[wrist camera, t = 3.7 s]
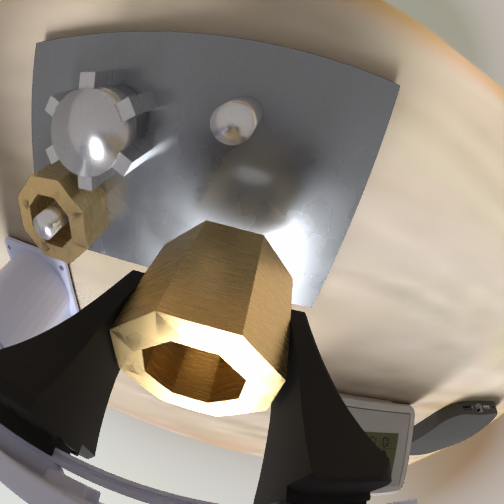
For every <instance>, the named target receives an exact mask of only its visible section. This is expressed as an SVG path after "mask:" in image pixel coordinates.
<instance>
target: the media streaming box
mask: <svg viewBox="0 0 504 504" xmlns="http://www.w3.org/2000/svg"><path fill="white" fill-rule="evenodd" d="M496 415H497V410H496V406H495V403H494V402H460V403H456V404H453V405H450V406H448V407H446V408H443V409H441V410H439V411H437V412H436V413H434V414H433V415H431V416H430V417H428V418H426V419H425V420H423V421H422V422H420V423H418V424H417V425H415V426H414V427H413V435H412V442H411V448H410V455H421V454H427V453H431V452H434V451H437V450H440V449H443V448H446V447H449V446H451V445H454V444H457V443H459V442H461V441H464V440H466V439H468V438H469V437H471V436H473V435H474V434H476V433H477V432H479V431H480V430H482V429H483V428H484V427H485V426H487V425H488V424H489V423H490V422H491V421H492V420H493V419H494V418H495V417H496Z"/></svg>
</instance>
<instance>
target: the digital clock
mask: <svg viewBox="0 0 504 504" xmlns="http://www.w3.org/2000/svg"><path fill="white" fill-rule="evenodd" d="M338 393H339V392H338ZM339 394H340V396H341V398H342V400H343V401H344V403H345V405H346V406H347V408H348V409H349V411H350V412H351V414H352V415H353V417H354V418H355V419H356V421H357V422H358V423H359V425H360V426H361V428H362V429H363V430H364V432H365V433H366V434H367V435H368V436H369V438H370V439H371V440H372V441H373V442H374V443H375V445H376V446H377V447H378V448H379V449H380V450H381V451H382V452H383V453H384V454H385V455H386V456H387V457H388V458H389V459H390V465H391V477H392V482H391V483H390V484H389V485H387V486H385V487H383V488H380V489H377V490H374V491H372V492H370V497H371V496H375V495H385V494H393V493H396V492H398V491H399V490H400V489H401V488H402V486H403V484H404V480H405V476H406V471H407V466H408V460H409V455H410V448H411V442H412V435H413V427H414V418H415V412H414V409H413V408H412V406H410V405H407V404H399V403H392V401H388V400H381V399H374V398H367V397H361V396H355V395H350V394H344V393H339Z"/></svg>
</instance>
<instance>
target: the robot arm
mask: <svg viewBox="0 0 504 504" xmlns="http://www.w3.org/2000/svg"><path fill="white" fill-rule="evenodd" d="M5 243H6V246H7V250H8V253H9V256H10V261H9V262H8V263H7V264H6V265H5V266H4V267H3V268H2V269H1V270H0V481H1V482H2V483H3V484H4V485H5V486H7V487H8V488H9V489H10V490H11V491H13V492H14V493H15V494H16V495H18V496H19V497H20V498H22V499H23V500H24V501H25V502H27V503H28V504H103V503H101V502H99V497H100V492H99V491H97V490H95V489H92V488H90V487H88V486H86V485H84V484H82V483H80V482H78V481H76V480H74V479H72V478H70V477H68V476H66V475H65V474H64V472H63V469H62V468H64V469H66V470H68V471H70V472H72V473H74V474H76V475H78V476H80V477H82V478H84V479H86V480H89V481H91V482H93V483H95V484H98V485H100V486H102V487H105V488H107V489H110V490H112V491H115V492H117V493H120V494H122V495H125V496H128V497H131V498H134V499H137V500H140V501H143V502H146V503H149V504H217V503H211V502H206V501H201V500H196V499H192V498H187V497H183V496H179V495H175V494H171V493H168V492H164V491H160V490H157V489H154V488H151V487H148V486H144V485H141V484H138V483H136V482H133V481H129V480H127V479H124V478H122V477H119V476H116V475H114V474H111V473H109V472H106V471H104V470H102V469H99V468H97V467H95V466H92V465H90V464H88V463H86V462H84V461H82V460H79V459H77V458H75V457H73V456H71V455H70V453H72V454H74V455H76V456H78V455H80V456H82V457H84V458H86V459H89V458H92V457H94V456H95V451H96V447H97V442H98V437H99V432H100V428H101V425H102V421H103V417H104V413H105V410H106V406H107V403H108V400H109V397H110V394H111V391H112V388H113V385H114V383H115V380H116V377H117V375H118V373H119V370H120V368H119V366H118V362H117V358H116V355H115V351H114V347H113V343H112V338H111V334H110V328H111V326H112V325H113V323H114V321H115V320H116V318H117V316H118V315H119V313H120V312H121V310H122V308H123V307H124V305H125V304H126V302H127V300H128V299H129V297H130V296H131V294H132V293H133V291H134V290H135V288H136V287H137V285H138V284H139V282H140V280H141V279H142V277H143V276H144V274H145V273H142V272H139V271H135V270H133V271H131V272H130V273H129V274H127V275H126V276H125V277H124V278H122V279H121V280H120V281H119V282H117V283H116V284H115V285H114V286H112V287H111V288H110V289H109V290H107V291H106V292H105V293H103V294H102V295H101V296H99V297H98V298H97V299H96V300H94V301H93V302H92V303H90V304H89V305H87V306H86V307H84V308H83V309H82V310H80V311H79V308H78V304H77V301H76V297H75V293H74V289H73V286H72V281H71V277H70V273H69V269H68V264H67V263H66V262H63V261H60V260H58V259H55V258H52V257H49V256H47V255H44V253H43V252H42V251H41V250H40V249H39V248H38V247H36V246H33V245H30V244H27V243H25V242H22V241H19V240H17V239H14V238H12V237H9V236H8V237H7V238H6V239H5ZM61 467H62V468H61ZM391 482H392V477H391V465H390V459H389V458H388V457H387V456H386V455H385V454H384V453H383V452H382V451H381V450H380V449H379V448H378V447H377V446H376V445H375V443H374V442H373V441H372V440H371V439H370V438H369V436H368V435H367V434H366V433H365V432H364V430H363V429H362V428H361V426H360V425H359V423H358V422H357V421H356V419H355V418H354V417H353V415H352V414H351V412H350V411H349V409H348V408H347V406H346V405H345V403H344V401H343V400H342V398H341V396H340V394H339V393H338V391H337V389H336V387H335V385H334V384H333V382H332V380H331V378H330V375H329V373H328V371H327V369H326V367H325V365H324V362H323V360H322V358H321V355H320V353H319V350H318V348H317V345H316V343H315V340H314V337H313V334H312V332H311V329H310V326H309V323H308V320H307V316H306V314H305V312H301V311H296V310H292V309H291V319H290V333H289V346H288V358H287V370H286V380H285V382H284V384H283V385H282V387H281V388H280V390H279V392H278V393H277V395H276V396H275V398H274V399H273V401H272V402H271V415H270V424H269V430H268V437H267V443H266V448H265V454H264V459H263V464H262V469H261V474H260V478H259V483H258V487H257V491H256V495H255V499H254V504H366V501H368V500H370V492H372V491H374V490H377V489H380V488H383V487H385V486H387V485H389V484H390V483H391ZM389 504H417V499H415V498H414V499H410V500H404V501H398V502H393V503H389Z"/></svg>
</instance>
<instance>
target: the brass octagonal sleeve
mask: <svg viewBox="0 0 504 504" xmlns="http://www.w3.org/2000/svg"><path fill="white" fill-rule="evenodd" d="M292 288H293V277H292V276H291V274H290V273H289V271H288V270H287V268H286V267H285V265H284V264H283V262H282V261H281V259H280V258H279V256H278V255H277V253H276V252H275V250H274V249H273V247H272V246H271V244H270V243H269V241H268V240H267V239H266V237H265V236H264V235H262V234H258V233H254V232H250V231H247V230H243V229H239V228H235V227H231V226H227V225H223V224H219V223H215V222H211V221H208V220H205V221H204V222H202V223H200V224H198V225H197V226H195V227H193V228H191V229H190V230H188V231H186V232H185V233H183V234H181V235H179V236H178V237H176V238H174V239H173V240H171V241H169V242H168V243H166V244H165V245H164V246H163V248H162V249H161V250H160V252H159V253H158V255H157V256H156V258H155V259H154V261H153V262H152V264H151V265H150V267H149V268H148V270H147V271H146V273H145V274H144V276H143V277H142V279H141V280H140V282H139V284H138V285H137V287H136V288H135V290H134V291H133V293H132V294H131V296H130V297H129V299H128V300H127V302H126V304H125V305H124V307H123V308H122V310H121V312H120V313H119V315H118V316H117V318H116V320H115V321H114V323H113V325H112V326H111V328H110V334H111V338H112V343H113V347H114V351H115V355H116V358H117V362H118V366H119V368H120V369H121V370H123V371H124V372H125V373H126V374H128V375H129V376H130V377H131V378H132V379H134V380H135V381H136V382H138V383H139V384H140V385H141V386H143V387H144V388H145V389H147V390H148V391H149V392H151V393H152V394H153V395H155V396H156V397H157V398H159V399H160V400H162V401H165V402H168V403H171V404H174V405H177V406H181V407H184V408H187V409H191V410H194V411H198V412H201V413H205V414H209V415H213V416H226V415H235V414H244V413H251V412H258V411H265V410H267V409H268V407H269V406H270V404H271V402H272V401H273V399H274V398H275V396H276V395H277V393H278V392H279V390H280V388H281V387H282V385H283V384H284V382H285V380H286V370H287V358H288V346H289V333H290V319H291V304H292Z"/></svg>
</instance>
